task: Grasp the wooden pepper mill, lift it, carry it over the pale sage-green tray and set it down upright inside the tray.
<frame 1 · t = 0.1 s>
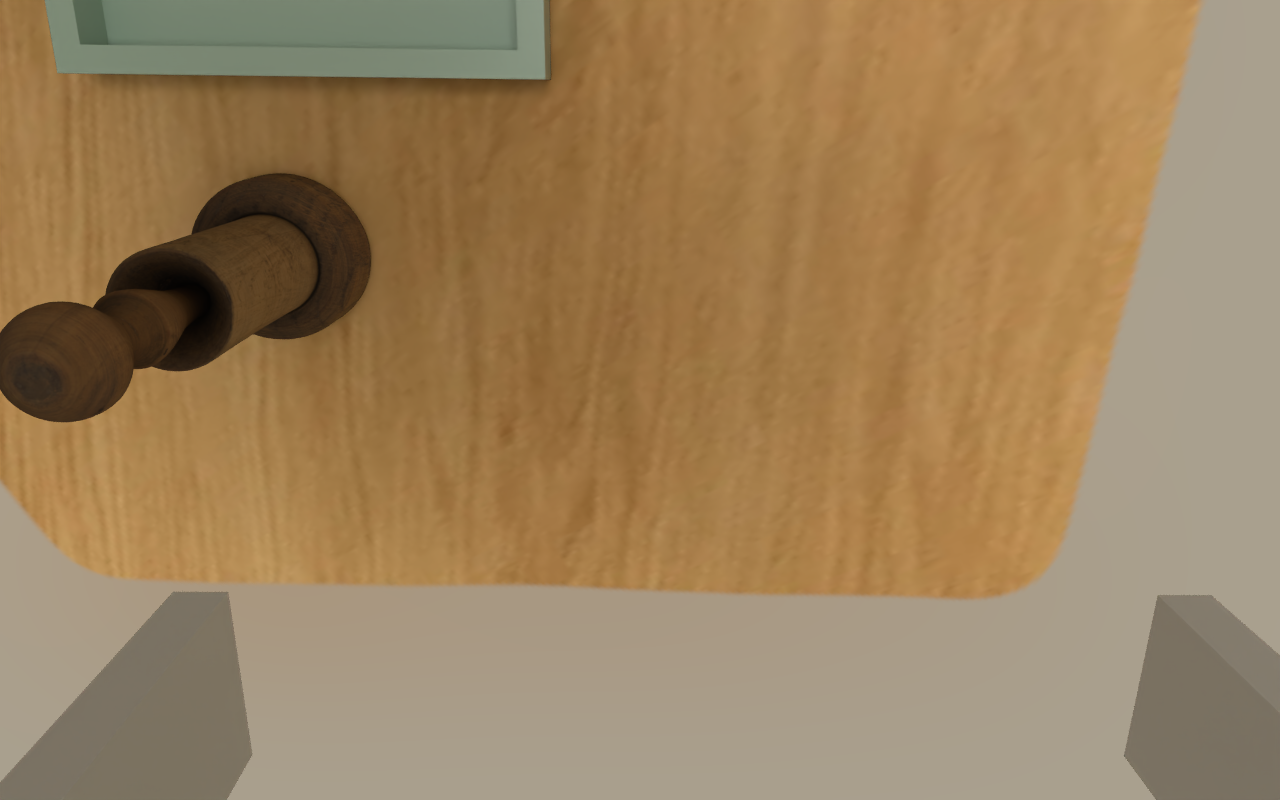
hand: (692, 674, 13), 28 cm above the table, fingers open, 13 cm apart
wooden pepper mill: (294, 251, 39), on the table
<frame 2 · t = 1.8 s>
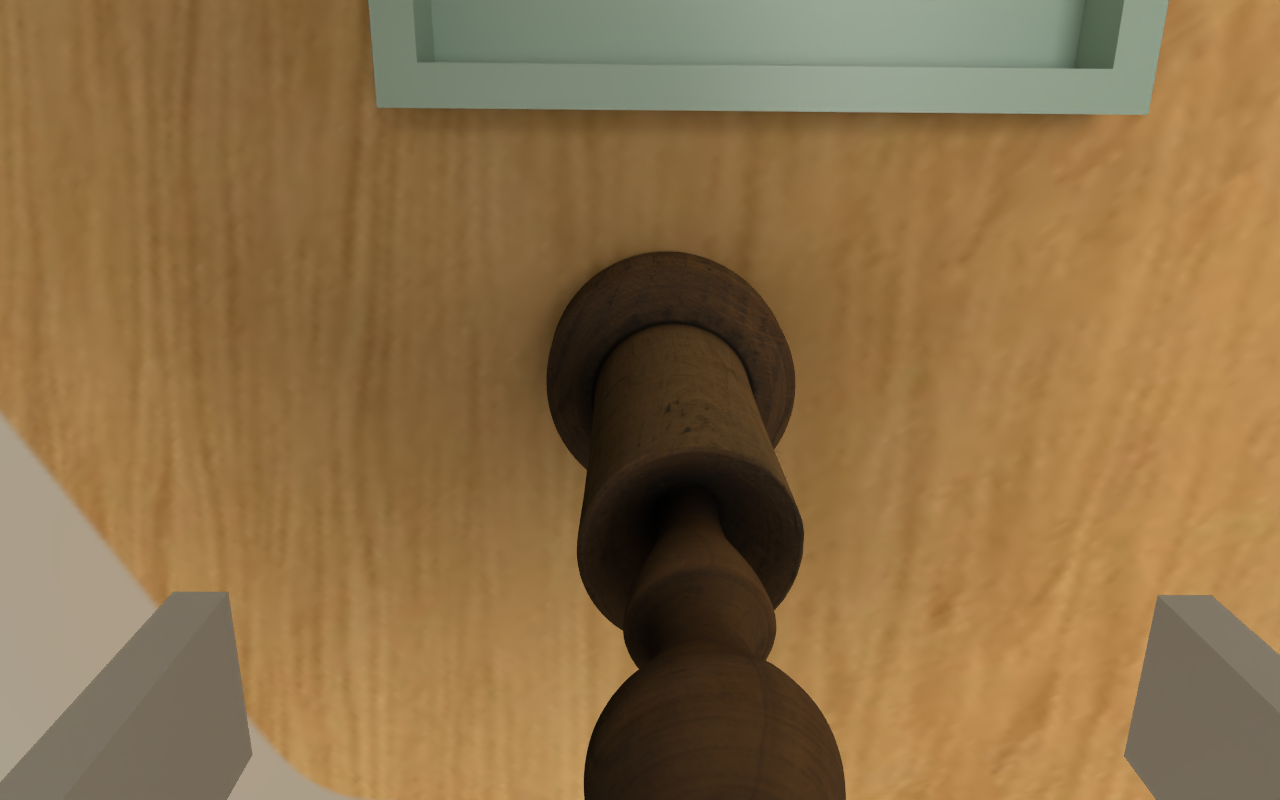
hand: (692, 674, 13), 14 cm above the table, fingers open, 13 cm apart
wooden pepper mill: (668, 362, 27), on the table
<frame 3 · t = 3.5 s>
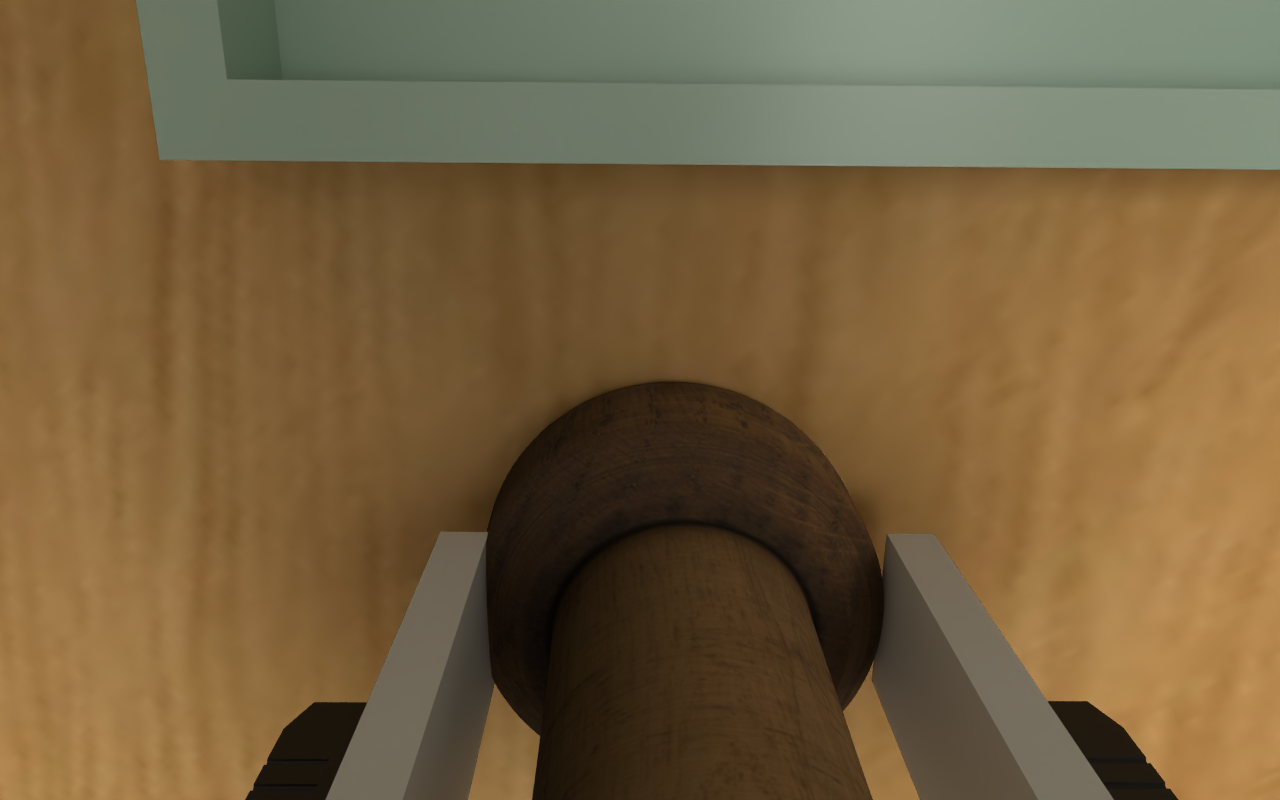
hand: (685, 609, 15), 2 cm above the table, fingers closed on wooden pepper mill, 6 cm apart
wooden pepper mill: (673, 545, 17), on the table, touching gripper
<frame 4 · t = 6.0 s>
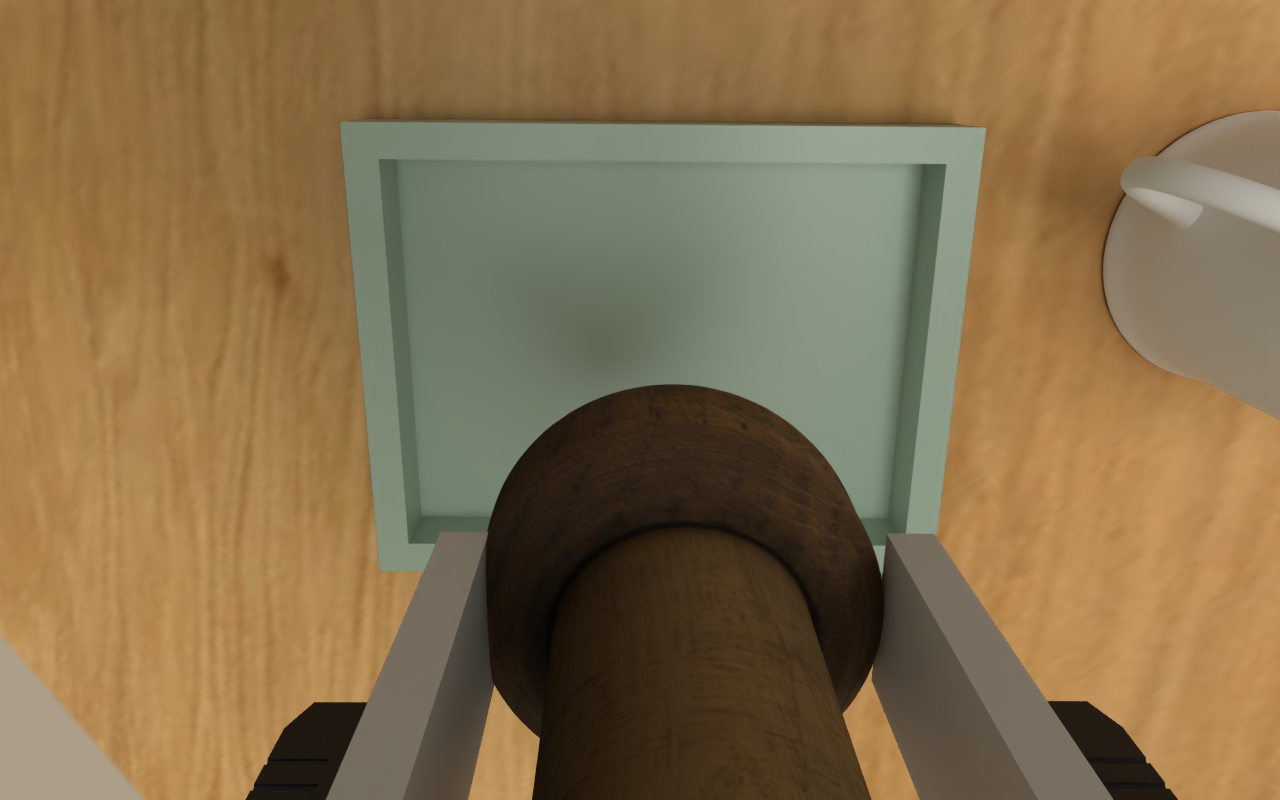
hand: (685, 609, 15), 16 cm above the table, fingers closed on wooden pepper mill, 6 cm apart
wooden pepper mill: (673, 547, 17), point 14 cm above the table, touching gripper
mug: (1191, 224, 30), on the table
tray: (657, 343, 31), on the table
when the fingers open (4 cm above the table, at t = 8.5 s): wooden pepper mill drops 1 cm, resting on tray.
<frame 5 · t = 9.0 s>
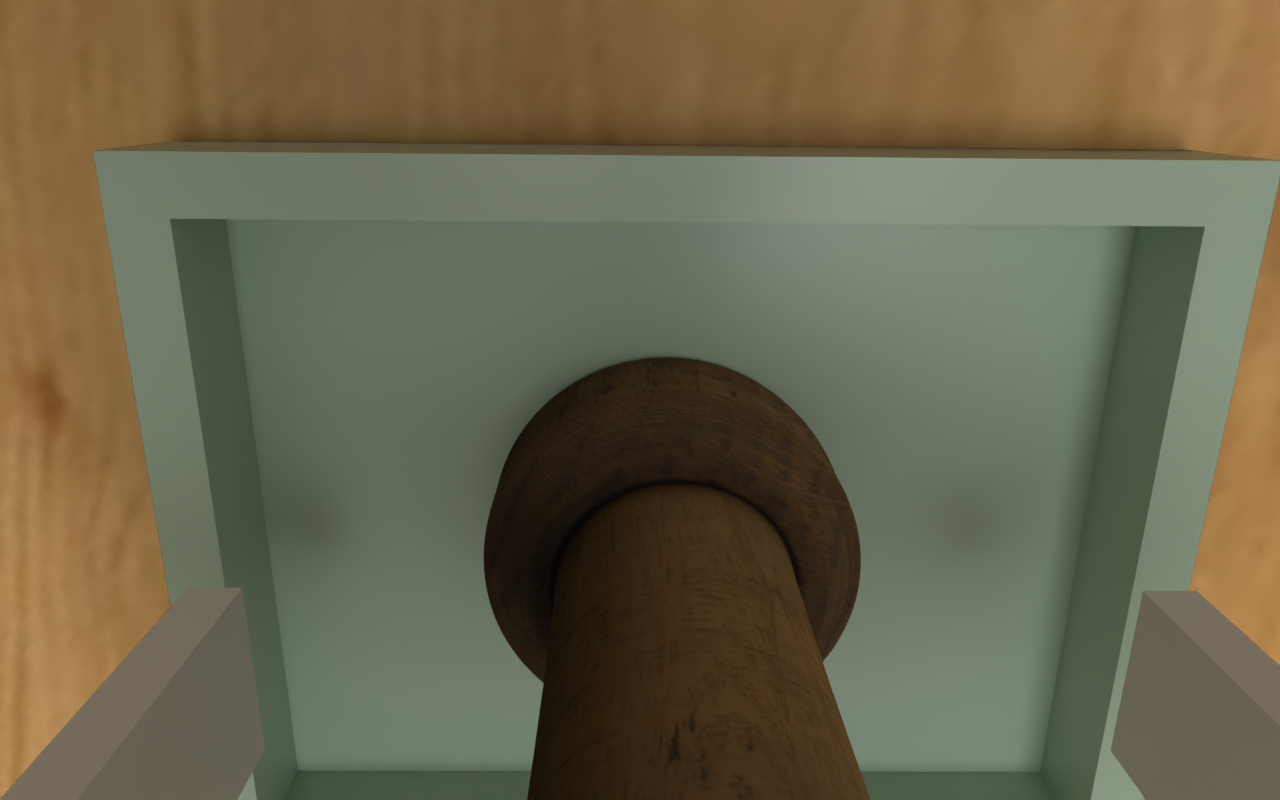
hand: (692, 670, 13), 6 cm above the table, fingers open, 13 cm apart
wooden pepper mill: (667, 511, 18), resting on tray
tray: (675, 505, 19), on the table
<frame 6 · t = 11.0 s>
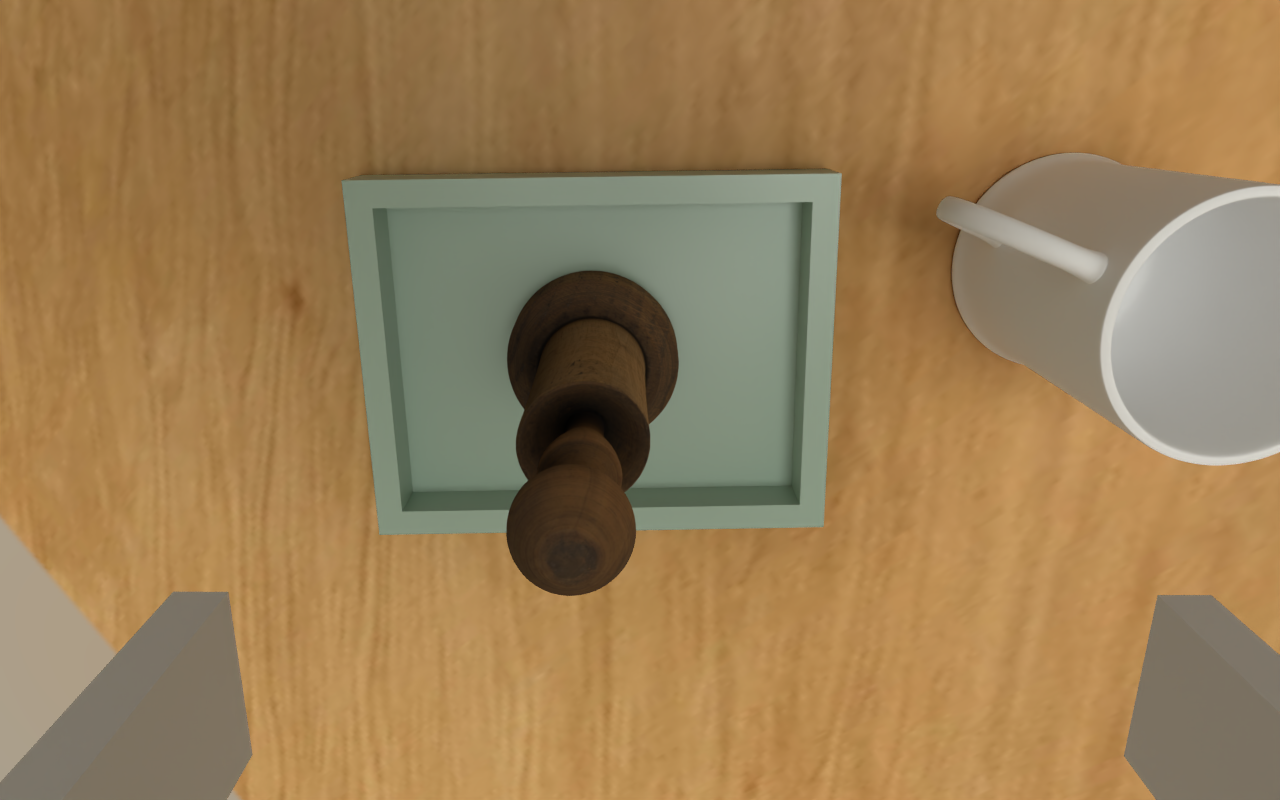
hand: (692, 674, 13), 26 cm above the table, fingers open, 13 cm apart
wooden pepper mill: (594, 348, 38), resting on tray
mug: (1021, 242, 37), on the table
tray: (599, 347, 38), on the table
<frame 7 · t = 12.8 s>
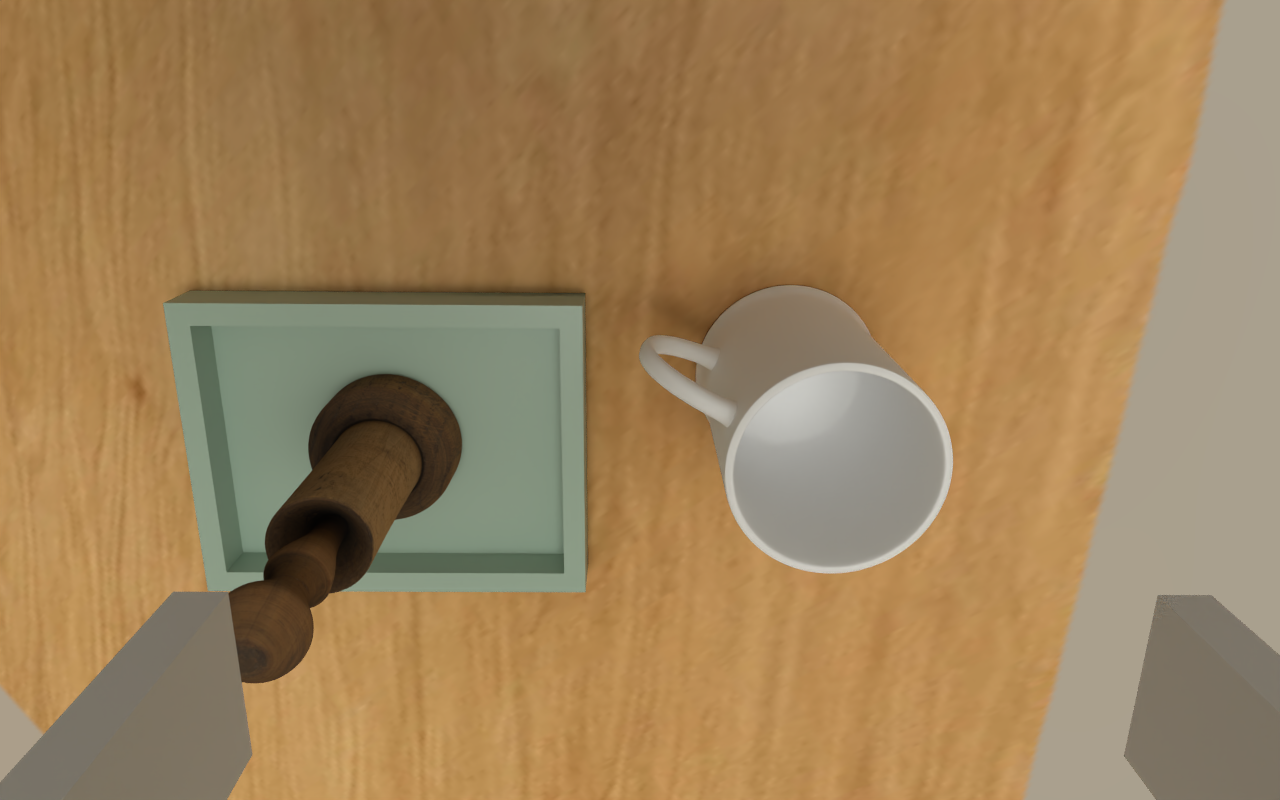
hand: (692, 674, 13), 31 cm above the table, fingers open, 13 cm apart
wooden pepper mill: (393, 437, 44), resting on tray
mug: (755, 356, 44), on the table
tray: (399, 435, 45), on the table
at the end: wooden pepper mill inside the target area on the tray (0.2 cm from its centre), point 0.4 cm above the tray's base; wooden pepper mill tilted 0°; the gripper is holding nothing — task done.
